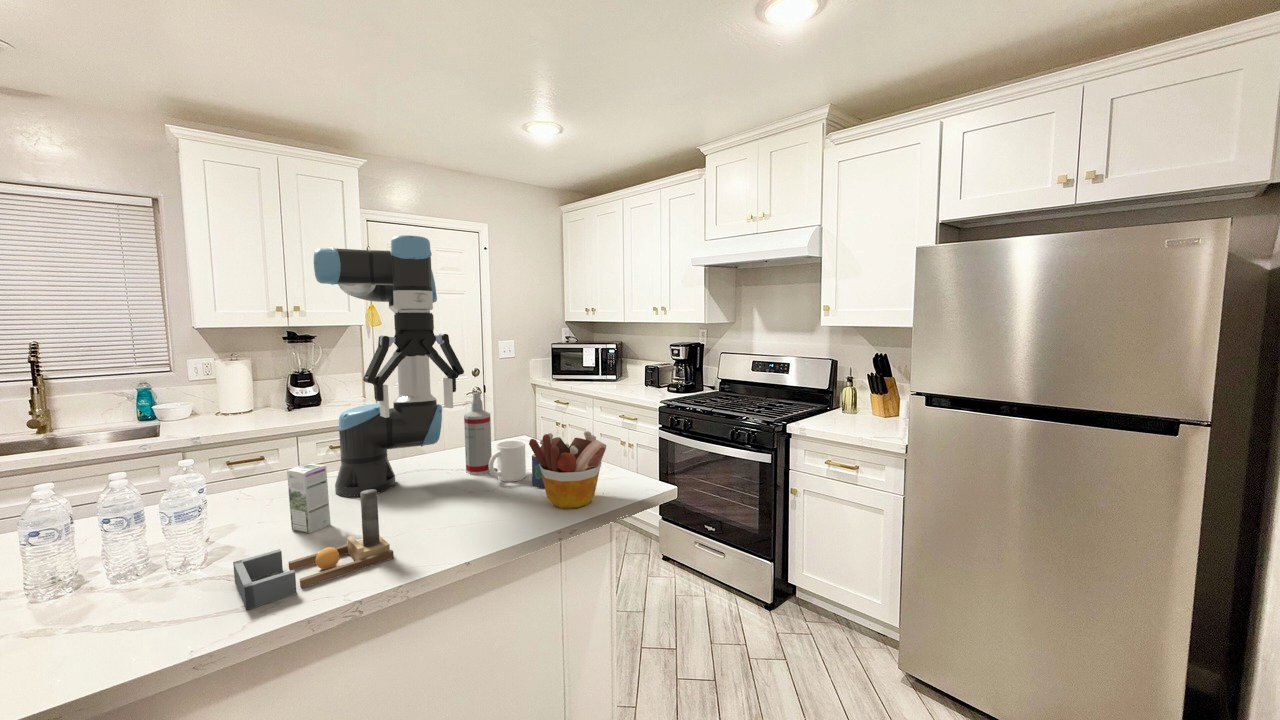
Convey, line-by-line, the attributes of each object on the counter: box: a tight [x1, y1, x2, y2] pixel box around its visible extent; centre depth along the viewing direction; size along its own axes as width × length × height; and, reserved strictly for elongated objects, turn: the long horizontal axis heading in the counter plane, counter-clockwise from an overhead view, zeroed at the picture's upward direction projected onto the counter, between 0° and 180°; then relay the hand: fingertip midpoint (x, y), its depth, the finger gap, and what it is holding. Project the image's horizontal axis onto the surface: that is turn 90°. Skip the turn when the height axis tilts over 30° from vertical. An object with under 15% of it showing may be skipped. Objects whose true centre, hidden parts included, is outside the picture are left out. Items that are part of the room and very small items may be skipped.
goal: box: [232, 548, 297, 611], centre depth 92 cm, size 12×7×4 cm, turn 45°
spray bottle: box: [463, 392, 493, 476], centre depth 159 cm, size 8×8×25 cm
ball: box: [315, 547, 340, 570], centre depth 100 cm, size 4×4×4 cm
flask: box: [531, 453, 545, 490], centre depth 145 cm, size 9×3×11 cm, turn 61°
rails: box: [288, 544, 395, 589], centre depth 102 cm, size 10×16×2 cm, turn 135°
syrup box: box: [286, 463, 331, 534], centre depth 118 cm, size 6×6×14 cm
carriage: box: [346, 489, 391, 561], centre depth 104 cm, size 7×6×13 cm
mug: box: [489, 440, 527, 483], centre depth 152 cm, size 12×8×10 cm
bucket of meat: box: [528, 430, 607, 510], centre depth 133 cm, size 20×16×20 cm
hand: (418, 411), depth 108 cm, fingers open, 13 cm apart
